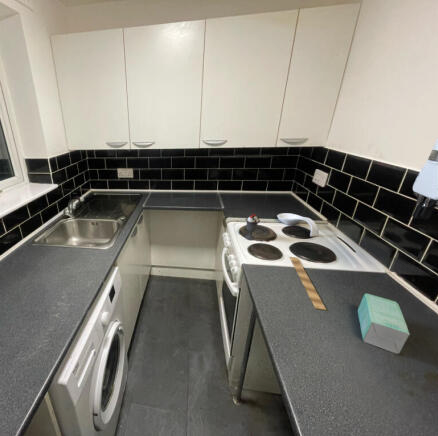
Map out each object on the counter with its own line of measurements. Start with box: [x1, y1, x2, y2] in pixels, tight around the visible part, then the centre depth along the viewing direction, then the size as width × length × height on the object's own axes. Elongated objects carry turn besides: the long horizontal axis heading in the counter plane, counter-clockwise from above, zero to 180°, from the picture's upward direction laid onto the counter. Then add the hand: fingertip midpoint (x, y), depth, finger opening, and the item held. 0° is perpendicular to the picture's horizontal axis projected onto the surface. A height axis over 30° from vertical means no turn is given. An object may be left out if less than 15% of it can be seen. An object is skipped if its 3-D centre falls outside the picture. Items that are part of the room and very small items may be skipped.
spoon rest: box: [276, 212, 320, 238], centre depth 125 cm, size 24×12×7 cm, turn 13°
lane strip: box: [289, 256, 327, 311], centre depth 87 cm, size 30×3×1 cm, turn 164°
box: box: [357, 293, 411, 355], centre depth 65 cm, size 7×14×8 cm, turn 145°
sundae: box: [244, 211, 261, 241], centre depth 114 cm, size 7×7×15 cm
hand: (419, 217), depth 71 cm, fingers closed
